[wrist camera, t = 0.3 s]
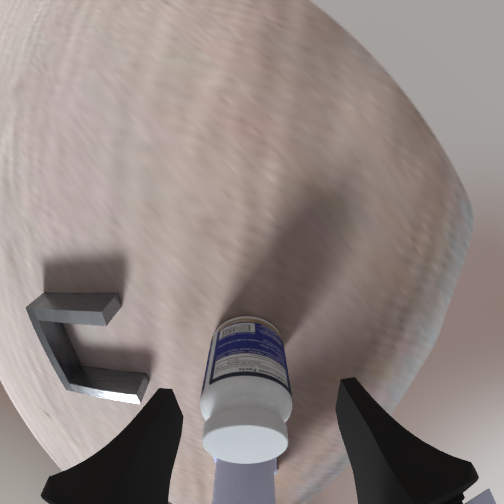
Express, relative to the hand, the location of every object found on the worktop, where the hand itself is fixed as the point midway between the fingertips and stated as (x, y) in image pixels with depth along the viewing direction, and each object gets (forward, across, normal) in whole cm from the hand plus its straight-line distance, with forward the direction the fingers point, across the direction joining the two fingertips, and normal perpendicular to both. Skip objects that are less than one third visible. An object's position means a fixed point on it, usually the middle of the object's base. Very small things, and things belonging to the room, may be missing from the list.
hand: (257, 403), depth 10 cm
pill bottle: (+10, +1, +4) cm, 11 cm away
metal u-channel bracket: (+10, +15, +4) cm, 19 cm away
